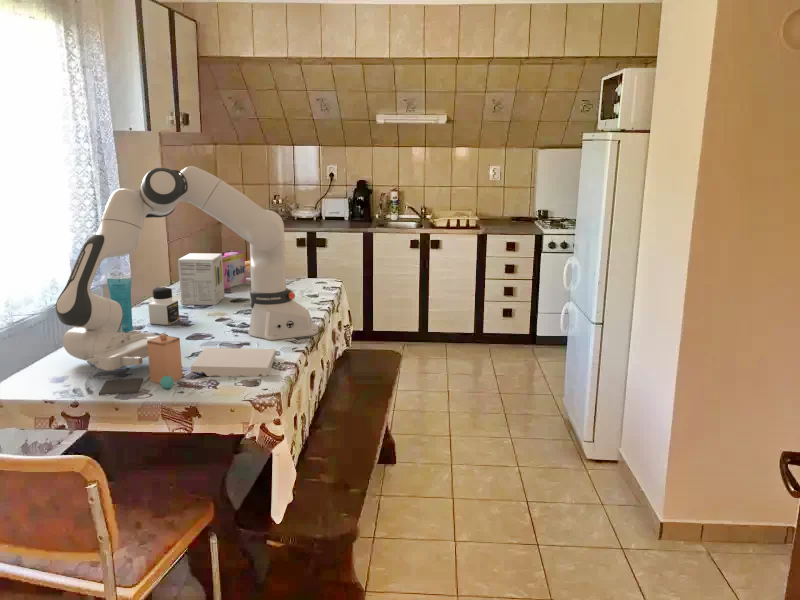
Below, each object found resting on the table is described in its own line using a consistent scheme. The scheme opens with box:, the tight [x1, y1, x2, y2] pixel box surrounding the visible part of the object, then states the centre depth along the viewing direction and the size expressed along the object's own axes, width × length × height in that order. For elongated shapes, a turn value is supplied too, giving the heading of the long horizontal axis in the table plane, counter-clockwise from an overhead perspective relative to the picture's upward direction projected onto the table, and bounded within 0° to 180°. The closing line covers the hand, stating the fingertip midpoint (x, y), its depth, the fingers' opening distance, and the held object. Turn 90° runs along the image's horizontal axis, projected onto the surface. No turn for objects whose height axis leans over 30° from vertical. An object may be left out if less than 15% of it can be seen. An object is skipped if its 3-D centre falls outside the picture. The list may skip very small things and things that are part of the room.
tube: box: [106, 278, 133, 332], centre depth 205 cm, size 7×5×19 cm, turn 96°
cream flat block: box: [190, 347, 277, 377], centre depth 183 cm, size 15×3×20 cm
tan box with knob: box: [147, 333, 183, 384], centre depth 172 cm, size 6×6×12 cm
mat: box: [98, 377, 144, 396], centre depth 167 cm, size 9×9×1 cm
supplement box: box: [177, 252, 226, 306], centre depth 252 cm, size 13×13×18 cm
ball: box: [159, 376, 175, 390], centre depth 167 cm, size 3×3×3 cm
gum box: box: [217, 249, 247, 290], centre depth 276 cm, size 24×8×14 cm, turn 159°
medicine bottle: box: [147, 286, 180, 326], centre depth 224 cm, size 7×7×12 cm
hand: (153, 355), depth 173 cm, fingers open, 8 cm apart
